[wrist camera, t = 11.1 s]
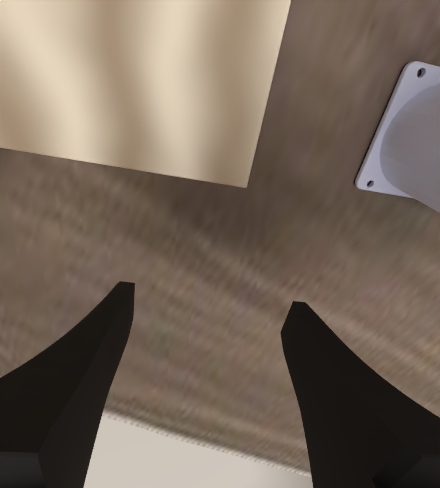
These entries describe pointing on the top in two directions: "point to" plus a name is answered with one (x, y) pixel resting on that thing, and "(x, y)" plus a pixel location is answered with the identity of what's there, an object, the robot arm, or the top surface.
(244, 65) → the post board
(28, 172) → the top surface
